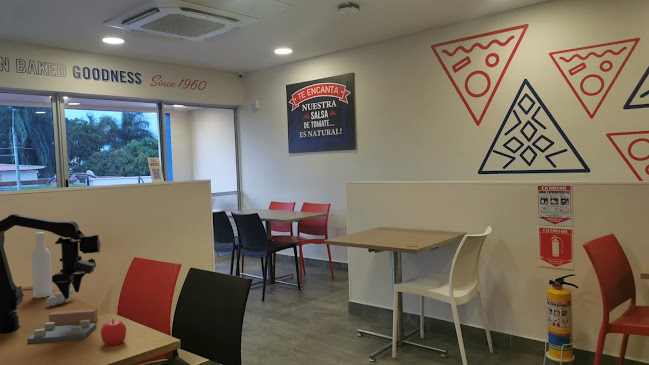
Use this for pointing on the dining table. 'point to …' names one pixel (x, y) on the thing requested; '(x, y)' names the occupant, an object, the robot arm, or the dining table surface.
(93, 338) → the dining table surface
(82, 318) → the clay strip
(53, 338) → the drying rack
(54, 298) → the ice cream cone
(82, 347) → the dining table surface
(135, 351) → the dining table surface
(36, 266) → the bottle
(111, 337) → the apple
